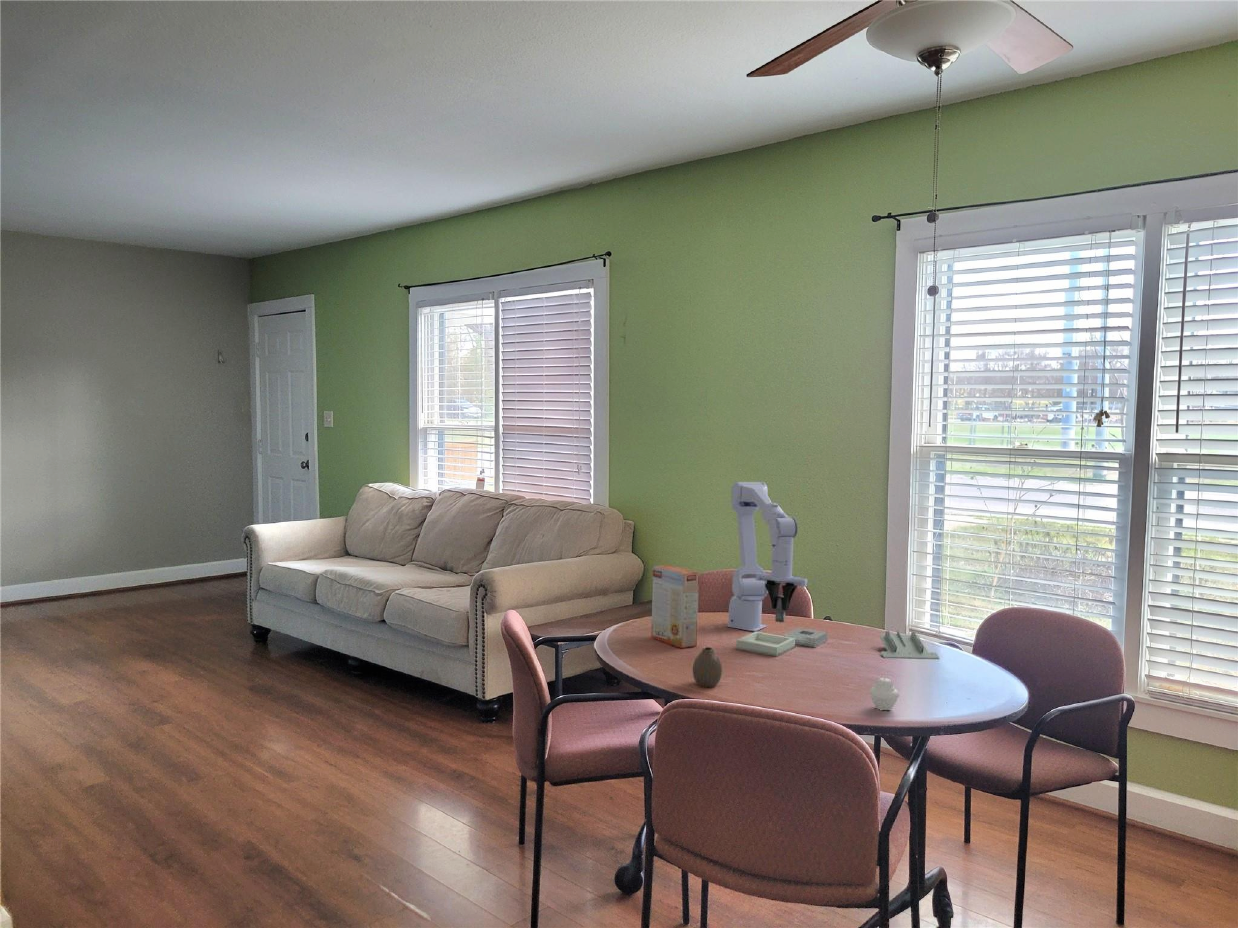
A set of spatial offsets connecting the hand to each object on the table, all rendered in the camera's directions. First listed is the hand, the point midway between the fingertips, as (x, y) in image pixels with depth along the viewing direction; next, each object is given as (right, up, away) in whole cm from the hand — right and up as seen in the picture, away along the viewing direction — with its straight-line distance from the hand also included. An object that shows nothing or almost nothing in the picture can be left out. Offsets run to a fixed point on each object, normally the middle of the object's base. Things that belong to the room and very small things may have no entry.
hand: (780, 608), depth 242 cm
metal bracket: (+34, -12, -2) cm, 36 cm away
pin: (0, -3, 0) cm, 3 cm away
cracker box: (-29, -10, +2) cm, 31 cm away
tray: (-4, -11, -2) cm, 11 cm away
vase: (-24, -12, -36) cm, 45 cm away
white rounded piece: (+14, -14, -49) cm, 53 cm away
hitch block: (+9, -10, +6) cm, 15 cm away
